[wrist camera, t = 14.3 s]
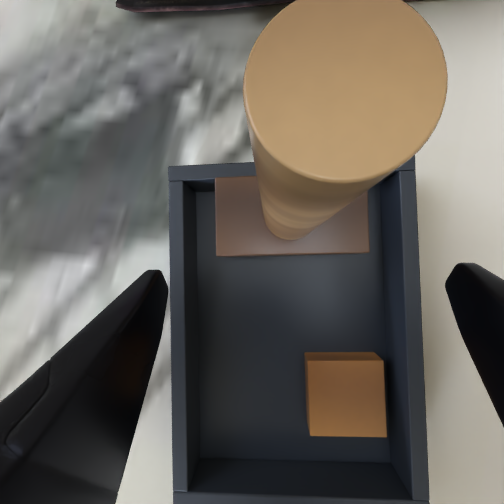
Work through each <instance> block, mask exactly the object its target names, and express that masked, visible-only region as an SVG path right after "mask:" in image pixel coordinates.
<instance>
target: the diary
mask: <svg viewBox="0 0 504 504" xmlns="http://www.w3.org/2000/svg"><path fill="white" fill-rule="evenodd" d="M294 1H296V0H117V1H116V7H118V8H121V9H125V10H129V11H133V12H162V11H198V10H223V9H232V8H241V7H250V6H259V5H267V4H276V3H285V2H294ZM402 1H417V0H402Z"/></svg>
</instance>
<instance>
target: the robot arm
mask: <svg viewBox="0 0 504 504" xmlns="http://www.w3.org/2000/svg"><path fill="white" fill-rule="evenodd" d="M445 288H446V291H447V294H448V298H449V301H450V304H451V307H452V310H453V313H454V316H455V319H456V322H457V325H458V328H459V330H460V333H461V336H462V338H463V340H464V342H465V345H466V347H467V349H468V351H469V353H470V355H471V358H472V360H473V362H474V364H475V366H476V368H477V371H478V373H479V375H480V377H481V379H482V381H483V383H484V386H485V388H486V390H487V392H488V394H489V396H490V399H491V401H492V403H493V405H494V407H495V409H496V412H497V414H498V416H499V418H500V420H501V422H502V424H503V427H504V280H503V279H501V278H499V277H498V276H496V275H494V274H493V273H491V272H489V271H488V270H486V269H484V268H482V267H481V266H479V265H477V264H475V263H458V264H457V265H456V266H455V267H454V269H453V270H452V272H451V274H450V275H449V277H448V278H447V280H446V283H445ZM167 298H168V286H167V283H166V281H165V279H164V276H163V274H162V272H161V271H160V270H147V271H146V272H144V273H143V274H142V275H141V276H140V277H139V278H138V279H137V280H136V281H135V282H133V283H132V284H131V285H130V286H129V287H128V288H127V289H126V290H125V291H124V292H122V293H121V294H120V295H119V296H118V297H117V298H116V299H115V300H114V301H113V302H112V303H110V304H109V305H108V306H107V307H106V308H105V309H104V310H103V311H102V312H101V313H99V314H98V315H97V316H96V317H95V318H94V319H93V320H92V321H91V322H90V323H89V324H87V325H86V326H85V327H84V328H83V329H82V330H81V331H80V332H79V333H78V334H77V335H75V336H74V337H73V338H72V339H71V340H70V341H69V342H68V343H67V344H66V345H64V346H63V347H62V348H61V349H60V350H59V351H58V352H57V353H56V354H55V355H54V356H52V357H51V359H50V360H48V361H47V362H46V363H45V364H44V365H42V366H41V367H40V368H39V369H38V370H37V371H36V372H35V373H34V374H33V375H31V376H30V377H29V378H28V379H27V380H26V381H25V382H23V383H22V384H21V385H20V386H19V387H18V388H17V389H16V390H14V391H13V392H12V393H11V394H10V395H8V396H7V397H6V398H5V399H4V400H2V401H1V402H0V504H115V503H116V499H117V495H118V493H117V492H118V491H119V488H120V484H121V480H122V477H123V473H124V469H125V466H126V462H127V459H128V455H129V451H130V448H131V444H132V441H133V437H134V433H135V430H136V426H137V423H138V419H139V415H140V412H141V408H142V405H143V401H144V397H145V394H146V390H147V387H148V383H149V379H150V376H151V372H152V369H153V365H154V361H155V358H156V354H157V351H158V347H159V343H160V339H161V335H162V330H163V323H164V317H165V311H166V304H167Z"/></svg>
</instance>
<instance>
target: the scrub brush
mask: <svg viewBox="0 0 504 504" xmlns="http://www.w3.org/2000/svg"><path fill="white" fill-rule="evenodd" d="M446 93H447V67H446V61H445V57H444V54H443V50H442V48H441V45H440V43H439V40H438V38H437V37H436V35H435V33H434V32H433V30H432V28H431V27H430V25H429V24H428V23H427V22H426V21H425V19H424V18H423V17H422V16H421V15H420V14H419V13H418V12H417V11H416V10H415V9H414V8H412V7H411V6H409V5H408V4H407V3H405V2H404V1H402V0H296V1H294V2H293V3H291V4H289V5H288V6H287V7H285V8H284V9H283V10H281V11H280V12H279V13H278V14H277V15H276V16H275V17H274V18H273V19H272V20H271V21H270V22H269V23H268V24H267V26H266V27H265V28H264V29H263V31H262V32H261V34H260V35H259V37H258V38H257V40H256V42H255V44H254V46H253V48H252V50H251V52H250V55H249V58H248V61H247V64H246V68H245V73H244V79H243V98H244V107H245V112H246V118H247V124H248V129H249V135H250V140H251V146H252V152H253V157H254V163H255V169H256V174H257V176H238V177H216V178H215V220H216V256H219V257H239V256H281V255H324V254H360V253H369V252H370V246H369V218H368V190H369V189H370V188H371V187H373V186H374V185H376V184H377V183H378V182H380V181H381V180H382V179H384V178H385V177H386V176H388V175H389V174H391V173H392V172H393V171H395V170H396V169H397V168H399V167H400V166H401V165H403V164H404V163H406V162H407V161H408V160H409V159H411V158H412V157H413V156H414V155H415V154H416V153H417V152H418V151H419V150H420V149H421V148H422V147H423V145H424V144H425V143H426V142H427V141H428V139H429V137H430V136H431V134H432V133H433V131H434V130H435V128H436V126H437V123H438V121H439V119H440V117H441V114H442V110H443V107H444V104H445V99H446Z"/></svg>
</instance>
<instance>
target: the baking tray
mask: <svg viewBox="0 0 504 504" xmlns="http://www.w3.org/2000/svg"><path fill="white" fill-rule="evenodd" d="M414 170H415V155H414V156H413V157H412V158H411V159H409V160H408V161H407V162H406V163H404V164H403V165H401V166H400V167H399V168H397V169H396V170H395V171H393V172H392V173H391V174H389V175H388V176H386V177H385V178H384V179H382V180H381V181H380V182H378V183H377V184H376V185H374V186H373V187H371V188H370V189H369V190H368V218H369V246H370V252H369V253H360V254H324V255H281V256H239V257H219V256H216V220H215V178H216V177H238V176H257V174H256V169H255V163H254V162H247V163H227V164H206V165H186V166H169V167H168V177H169V181H170V182H169V238H170V311H171V383H172V456H173V504H430V503H429V500H430V499H429V475H428V452H427V429H426V406H425V383H424V360H423V337H422V314H421V291H420V268H419V245H418V222H417V198H416V175H415V171H414ZM305 352H375V353H376V354H377V355H378V356H379V357H380V358H381V359H382V360H383V361H384V381H385V403H386V426H387V437H336V436H310V433H309V429H308V424H307V412H306V383H305V355H304V353H305Z"/></svg>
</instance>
